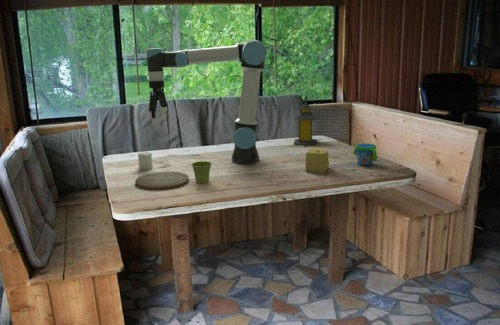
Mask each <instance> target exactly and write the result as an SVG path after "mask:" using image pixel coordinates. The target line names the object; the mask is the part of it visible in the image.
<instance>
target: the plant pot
mask: <svg viewBox="0 0 500 325" xmlns="http://www.w3.org/2000/svg"><path fill="white" fill-rule="evenodd" d="M191 166H192V169H193V172H194V173H193V174H194V177H195V178H194V180H195V182H196V183H198V184H199V183H201V184H206V183H208V182H210V171H211V167H212V162H211V161H206V160H205V161H202V160H200V161H195V162H192V163H191Z"/></svg>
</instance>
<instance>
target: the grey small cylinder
mask: <svg viewBox="0 0 500 325" xmlns="http://www.w3.org/2000/svg"><path fill="white" fill-rule="evenodd" d="M152 154H153V153H152V152H150V151H149V152H148V151H147V152H146V151H145V152H140V153H139V152H138V153H137V159H138V160H137V162H138V170H139V171H146V172H147V171H150V170H153V168H154V167H153V156H152Z"/></svg>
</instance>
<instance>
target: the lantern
mask: <svg viewBox="0 0 500 325" xmlns="http://www.w3.org/2000/svg"><path fill="white" fill-rule="evenodd" d="M307 100H308V94H307V95H304V103H303V104H302V105H301V106H300V108H299V109H300V111H299V113H297V115H296V116H295V117H294V121H295V120H296V121H298V138H295V139H294V141H293V145H294V146H317V142H318V139H316V138H313V121H316V120H317V119H318V118H317V116H316V114H315V113H314V112H312V111H311V109H312V106H311V105H310V104H309V103H308V101H307Z"/></svg>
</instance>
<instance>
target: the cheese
mask: <svg viewBox="0 0 500 325" xmlns="http://www.w3.org/2000/svg"><path fill="white" fill-rule="evenodd" d="M329 156H330V154H329V152H328V151H327V150H325V149H321V148H316V147H309V148H308V151H307V152H306V153H305V172H311V173H322V174H324V173H326V172H327V170H328V169H329V167H330V160H329Z"/></svg>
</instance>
